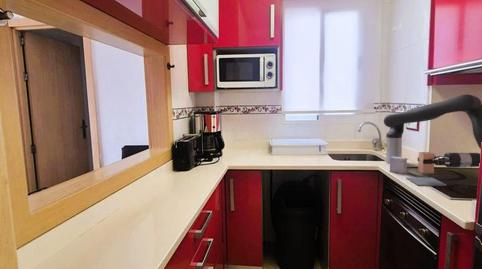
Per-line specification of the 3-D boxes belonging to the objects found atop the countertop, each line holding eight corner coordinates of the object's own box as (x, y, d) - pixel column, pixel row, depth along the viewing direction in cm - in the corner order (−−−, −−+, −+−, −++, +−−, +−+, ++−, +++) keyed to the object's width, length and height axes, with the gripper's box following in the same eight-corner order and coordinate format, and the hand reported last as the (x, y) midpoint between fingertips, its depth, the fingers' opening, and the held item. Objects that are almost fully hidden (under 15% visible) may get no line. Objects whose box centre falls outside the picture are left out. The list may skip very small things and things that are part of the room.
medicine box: (406, 172, 161) (407, 157, 160) (404, 173, 159) (404, 159, 158) (392, 170, 167) (392, 156, 166) (389, 171, 164) (389, 157, 164)
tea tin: (418, 170, 144) (418, 152, 143) (428, 170, 143) (429, 151, 142) (423, 173, 139) (423, 153, 138) (433, 173, 138) (434, 153, 137)
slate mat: (406, 178, 149) (406, 177, 149) (432, 178, 147) (432, 177, 147) (417, 185, 136) (417, 184, 136) (446, 185, 134) (446, 184, 134)
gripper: (449, 150, 145) (414, 151, 147) (466, 155, 131) (427, 156, 133) (448, 164, 145) (413, 164, 148) (466, 170, 131) (427, 171, 134)
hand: (420, 160), depth 141 cm, fingers closed on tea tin, 5 cm apart
